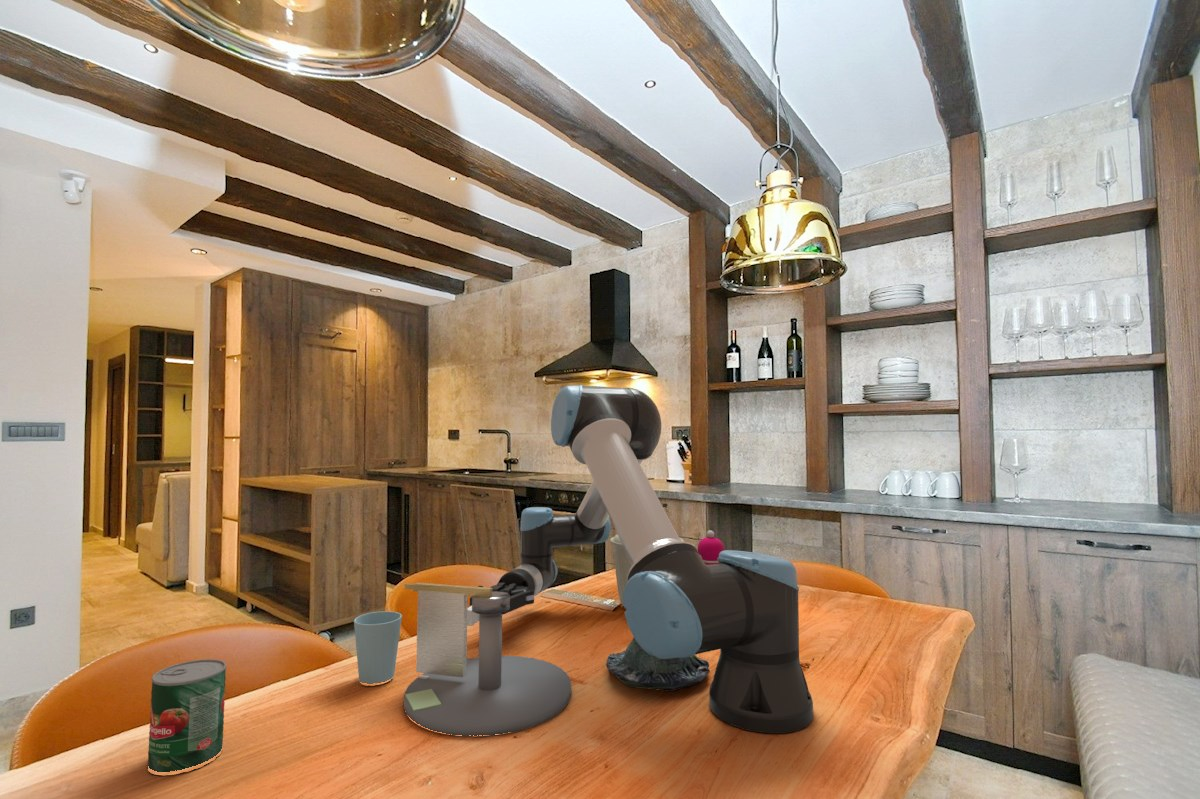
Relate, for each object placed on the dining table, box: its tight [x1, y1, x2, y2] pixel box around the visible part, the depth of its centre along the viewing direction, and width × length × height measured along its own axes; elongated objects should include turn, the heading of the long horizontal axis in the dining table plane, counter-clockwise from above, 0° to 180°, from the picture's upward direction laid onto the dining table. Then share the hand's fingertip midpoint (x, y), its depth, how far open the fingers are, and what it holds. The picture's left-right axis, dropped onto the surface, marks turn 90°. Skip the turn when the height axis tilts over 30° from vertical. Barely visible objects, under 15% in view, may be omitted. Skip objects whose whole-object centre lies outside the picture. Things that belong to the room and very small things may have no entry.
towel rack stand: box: [404, 582, 510, 678], centre depth 94 cm, size 19×6×14 cm, turn 75°
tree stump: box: [605, 636, 710, 692], centre depth 100 cm, size 18×20×18 cm
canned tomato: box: [147, 658, 227, 772], centre depth 74 cm, size 8×8×11 cm
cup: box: [353, 610, 403, 684], centre depth 98 cm, size 8×8×10 cm
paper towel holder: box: [403, 613, 572, 736], centre depth 92 cm, size 26×26×12 cm
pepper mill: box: [697, 529, 725, 565], centre depth 132 cm, size 7×7×20 cm
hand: (467, 617), depth 103 cm, fingers closed
